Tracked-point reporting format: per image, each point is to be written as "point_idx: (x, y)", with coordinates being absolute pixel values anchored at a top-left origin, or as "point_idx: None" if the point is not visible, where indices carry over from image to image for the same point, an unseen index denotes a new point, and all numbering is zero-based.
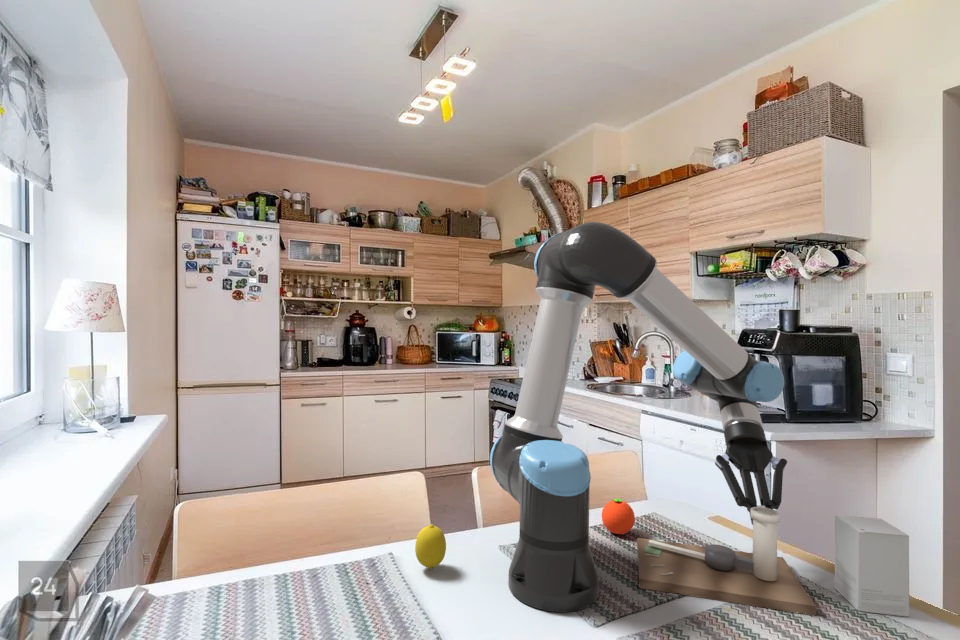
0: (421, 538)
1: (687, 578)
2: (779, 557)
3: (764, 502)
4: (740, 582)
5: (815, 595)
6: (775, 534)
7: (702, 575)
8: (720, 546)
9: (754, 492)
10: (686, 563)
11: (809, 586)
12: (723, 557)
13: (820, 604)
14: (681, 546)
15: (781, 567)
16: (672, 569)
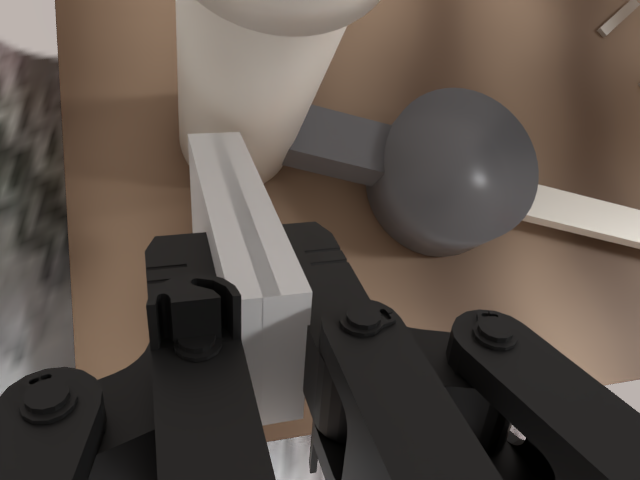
0: None
1: (545, 13)
2: None
3: (237, 311)
4: (347, 51)
5: (3, 156)
6: None
7: (495, 59)
8: (464, 222)
9: (371, 431)
10: (566, 151)
11: (4, 245)
12: (444, 90)
13: (7, 76)
14: (613, 342)
15: (123, 305)
16: (606, 71)
